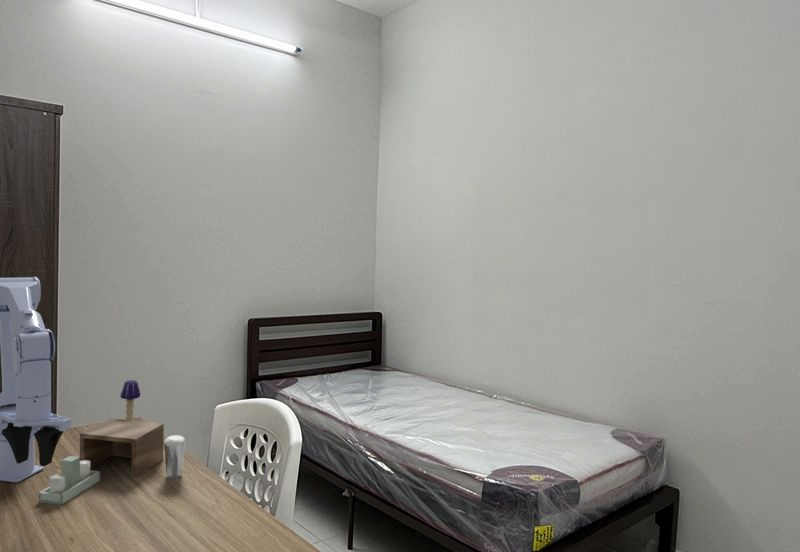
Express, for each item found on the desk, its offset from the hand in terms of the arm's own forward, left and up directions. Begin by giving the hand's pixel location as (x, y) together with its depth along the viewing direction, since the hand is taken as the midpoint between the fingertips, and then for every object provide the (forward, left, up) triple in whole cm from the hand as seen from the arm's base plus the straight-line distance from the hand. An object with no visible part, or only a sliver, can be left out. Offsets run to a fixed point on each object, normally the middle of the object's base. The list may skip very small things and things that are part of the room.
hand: (34, 463), depth 112 cm
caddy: (0, +10, -10) cm, 14 cm away
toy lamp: (-4, +36, -10) cm, 38 cm away
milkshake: (+17, +22, -10) cm, 30 cm away
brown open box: (+2, +25, -10) cm, 27 cm away
